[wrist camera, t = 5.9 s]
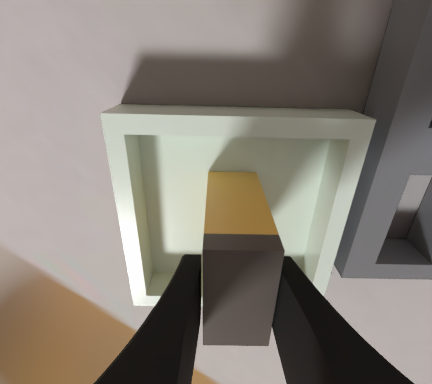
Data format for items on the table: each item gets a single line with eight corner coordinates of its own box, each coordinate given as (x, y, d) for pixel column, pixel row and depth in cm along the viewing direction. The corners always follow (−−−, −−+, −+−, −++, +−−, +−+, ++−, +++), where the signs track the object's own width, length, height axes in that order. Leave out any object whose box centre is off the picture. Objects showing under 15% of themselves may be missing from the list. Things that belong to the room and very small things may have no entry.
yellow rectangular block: (256, 172, 13) (285, 251, 8) (249, 243, 15) (268, 345, 10) (208, 171, 13) (202, 249, 8) (207, 242, 15) (202, 345, 10)
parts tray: (349, 109, 12) (376, 119, 10) (307, 278, 17) (320, 308, 15) (119, 103, 12) (100, 113, 10) (143, 275, 17) (133, 305, 15)
